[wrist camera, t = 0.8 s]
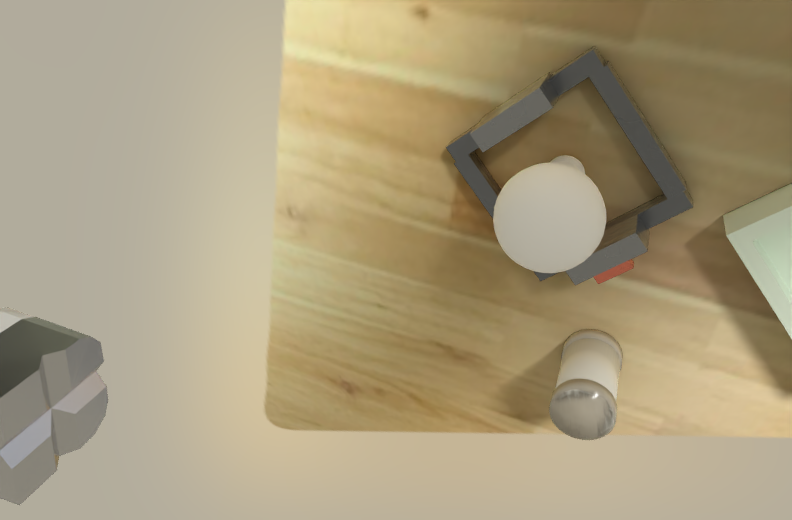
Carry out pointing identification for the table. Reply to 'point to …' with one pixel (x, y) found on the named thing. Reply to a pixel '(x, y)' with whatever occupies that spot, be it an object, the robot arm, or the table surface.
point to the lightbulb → (550, 216)
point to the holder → (631, 228)
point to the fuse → (587, 385)
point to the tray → (767, 247)
